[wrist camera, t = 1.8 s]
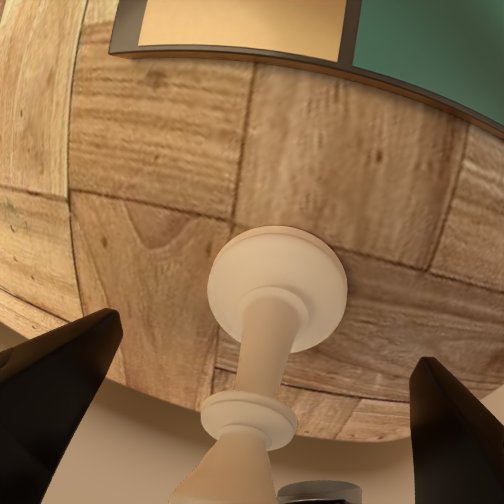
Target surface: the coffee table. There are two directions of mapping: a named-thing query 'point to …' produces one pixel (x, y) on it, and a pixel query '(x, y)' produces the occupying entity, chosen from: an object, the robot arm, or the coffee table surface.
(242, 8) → the game board
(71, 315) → the coffee table surface
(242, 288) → the chess piece
